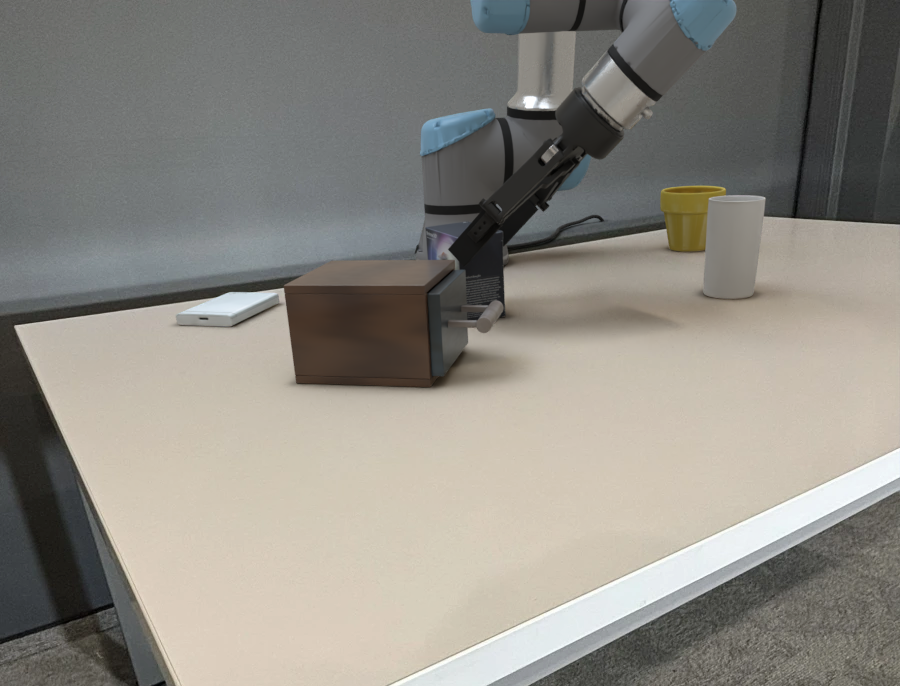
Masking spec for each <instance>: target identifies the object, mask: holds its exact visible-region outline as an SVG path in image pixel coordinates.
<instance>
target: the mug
mask: <svg viewBox="0 0 900 686" xmlns="http://www.w3.org/2000/svg"><path fill="white" fill-rule="evenodd" d="M766 199H767V198H766V197H764V196H761V195H748V194H747V195H746V194H745V195H743V194H742V195H741V194H734V195H733V194H732V195H726V196H717V197H711V198H709V203H708V215H707V232H706V249H705V250H704V251H705V252H704V265H703V267H704V268H703V286H702V287H703V289H702V291H703V292H702V293H703V295H704V296H706V297H709V298H714V299H720V300H721V299H723V300H739V299H746V298H750V297H752V296H753V295H754V293H755V286H756V278H757V273H758V272H757V271H758V265H759V257H760V247H761V242H762V241H761V240H762V234H763V225H764V220H765V219H764V217H765V209H766Z"/></svg>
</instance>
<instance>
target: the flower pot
mask: <svg viewBox="0 0 900 686" xmlns="http://www.w3.org/2000/svg"><path fill="white" fill-rule="evenodd" d="M717 196H727V189H726V188H725V187H722V186H715V185H683V186H672V187H666V188H663V189H661V190H660V197H659V198H660V200H659V202H660V203H659V205H660V206H659V209H660V211H661V212H662V213H663V217H664V223H665V230H666V236H667V242H668V248H669V250H670V251H674V252H681V253H693V252H694V253H696V252H703V251H705V249H706V232H707V215H708V203H709V198H711V197H717Z"/></svg>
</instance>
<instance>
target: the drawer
mask: <svg viewBox="0 0 900 686" xmlns="http://www.w3.org/2000/svg"><path fill="white" fill-rule="evenodd" d="M427 302H428V319H429V337H430V354H431V371H432V376H438V377H445V376H446V374H447V373H448V371H449V370H450V369H451V367H452V366H453V364H454V363H455V362H456V360H457V359H458V358H459V356H460V355H461V353H462V352H463V351H464V349H465V348H466V346H467V345H468V344H469V329H472V328H473V329H476V330H477V331H478V332H479V333H480V334H488V333H489V332H490V331H491V330H492V328H493V327H494V325H495V324H496V322H497V321H498V319H499V318H500V317H499V316H500V315H501V313H502V312H503V309H504V307H503V304H502V303H501V302H500V301H497V300H495V301H492V302H491V303H490V304H489V306H488V305H467V298H466V272H465V270H454V271H452V272H451V273H450V274H449V275H448V276H447V277H446V278H445V279H444V280H442V281H441V280H440V281H439V282H438V283H437V284H436V285H435V286H433V287H432V288H431V289H430V290H429V291H428V292H427ZM467 312H483V314H482V315H481V316H480V317H479V319H478V320H467ZM468 328H469V329H468Z"/></svg>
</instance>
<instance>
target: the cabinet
mask: <svg viewBox="0 0 900 686" xmlns="http://www.w3.org/2000/svg"><path fill="white" fill-rule="evenodd" d="M454 270H455V260H416V259H373V260H372V259H369V260H367V259H365V260H364V259H363V260H361V259H360V260H359V259H357V260H348V259H347V260H342V259H341V260H330V261H328V262H326V263H324V264H322V265H320V266H318V267H316V268H315V269H312V270H311V271H308V272H306V273H305V274H302V275H301V276H298V277H297V278H295V279H293V280H291V281H289V282H288V283H286V284H284V285H283V294H284V299H285V308H286V315H287V323H288V331H289V332H288V333H289V339H290V345H291V355H292V361H293V370H294V375H295V376H294V378H295V382H296V383H295V384H309V385H311V384H314V385H345V386H346V385H347V386H377V387H411V388H414V387H415V388H431V387H432V386H433V384H434V383H435V382H436V380H437V379H438V378H439V376H432V371H431V354H430V337H429V319H428V302H427V292H428V291H429V290H430V289H431V288H432V287H433V286H435V285H436V284H437V283H438V282H439V281H440V280H441V281H442V280H444V279H445V278H446V277H447V276H448V275H449V274H450V273H451V272H452V271H454Z"/></svg>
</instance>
